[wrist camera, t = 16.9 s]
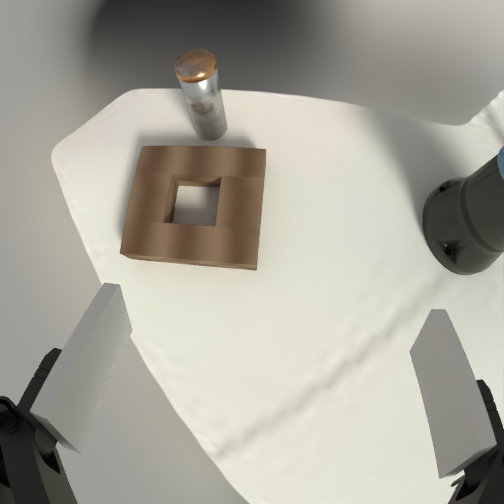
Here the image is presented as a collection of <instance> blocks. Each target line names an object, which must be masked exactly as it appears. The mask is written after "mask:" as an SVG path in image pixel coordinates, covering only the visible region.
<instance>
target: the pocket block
mask: <svg viewBox="0 0 504 504" xmlns="http://www.w3.org/2000/svg"><path fill="white" fill-rule="evenodd" d="M265 166H266V149H256V148H238V147H212V146H142V149H141V153H140V157H139V161H138V165H137V169H136V173H135V177H134V182H133V186H132V191H131V195H130V200H129V205H128V210H127V215H126V220H125V225H124V231H123V237H122V242H121V248H120V254H122V255H124V256H126V257H128V258H130V259H137V260H147V261H158V262H168V263H179V264H190V265H201V266H212V267H223V268H235V269H247V270H257V259H258V247H259V236H260V224H261V213H262V201H263V189H264V177H265ZM178 186H202V187H220V193H219V200H218V208H217V216H216V224H215V226H204V225H189V224H174V223H172V221H173V215H174V208H175V203H176V197H177V191H178Z"/></svg>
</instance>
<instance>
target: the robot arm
mask: <svg viewBox="0 0 504 504" xmlns="http://www.w3.org/2000/svg"><path fill="white" fill-rule="evenodd" d="M423 227H424V233H425V237H426V240H427V242H428V245H429V247H430V249H431V251H432V253H433V254H434V256H435V257H436V258H437V260H438V261H439V262H440V263H441V264H442V265H443V266H444V267H445V268H447V269H448V270H450V271H452V272H454V273H456V274H460V275H471V274H475V273H478V272H481V271H483V270H485V269H487V268H488V267H489V266H490V265H491V264H492V263H493V262H494V261H495V260H496V259H497V258H498V257H499V256H500V255H501V254H502V253H503V252H504V146H503V147H502V148H501V149H500V151H499V153H498V154H497V155H496V156H495V157H493V158H492V159H491V160H490V161H488V162H487V163H486V164H485V165H483V166H482V167H481V168H479V169H478V170H477V171H476V172H474V173H473V174H472V175H471V176H469V177H465V178H459V179H453V180H449V181H446V182H444V183H442V184H441V185H440V186H439V187H437V188H436V189H435V190H434V191H433V192H432V193H431V194H430V195H429V197H428V199H427V201H426V203H425V207H424V212H423ZM131 332H132V327H131V324H130V320H129V317H128V313H127V310H126V306H125V302H124V299H123V295H122V291H121V287H120V285H118V284H111V283H104V284H103V286H102V287H101V289H100V290H99V292H98V293H97V295H96V296H95V298H94V300H93V301H92V302H91V304H90V306H89V307H88V309H87V310H86V312H85V313H84V315H83V317H82V318H81V320H80V322H79V323H78V325H77V326H76V328H75V330H74V331H73V333H72V335H71V336H70V338H69V340H68V341H67V343H66V345H65V347H64V348H63V350H61V349H57V348H54V349H52V350H51V351H50V352H49V353H48V354H47V355H46V356H45V357H44V359H43V360H42V362H41V364H40V365H39V369H37V371H36V372H35V374H34V377H33V378H32V380H31V381H30V383H29V385H28V387H27V389H26V390H25V392H24V394H23V396H22V398H21V400H20V402H19V404H18V405H17V406H16V405H15V404H14V403H13V402H12V401H11V400H10V399H9V398H8V397H5V396H0V504H78V503H77V501H76V499H75V496H74V494H73V492H72V489H71V487H70V484H69V481H68V479H67V476H66V473H65V471H64V468H63V465H62V462H61V460H60V457H59V454H58V451H57V449H56V447H55V446H56V443H57V441H58V442H59V443H60V444H61V445H62V446H63V447H65V448H67V449H70V450H72V451H75V452H78V453H81V451H82V448H83V445H84V443H85V440H86V437H87V435H88V432H89V430H90V427H91V425H92V422H93V420H94V417H95V415H96V412H97V410H98V407H99V405H100V402H101V400H102V397H103V395H104V393H105V391H106V388H107V386H108V383H109V381H110V379H111V377H112V374H113V372H114V370H115V367H116V365H117V363H118V361H119V358H120V356H121V354H122V352H123V350H124V347H125V345H126V343H127V341H128V339H129V337H130V334H131ZM410 355H411V358H412V362H413V365H414V369H415V372H416V376H417V379H418V383H419V387H420V390H421V394H422V398H423V402H424V406H425V410H426V414H427V419H428V423H429V427H430V432H431V437H432V441H433V446H434V451H435V456H436V462H437V467H438V473H439V479H442V478H446V477H450V476H454V475H456V474H458V473H459V472H461V471H462V470H464V473H465V475H463V476H462V477H460V478H459V479H457V480H456V481H454V482H453V483H452V485H451V486H452V487H453V486H455V485H456V484H458V483H459V484H458V486H457V487H456V488H455V489H456V490H455V491H454V493H453V495H452V497H451V499H450V501H449V503H448V504H504V429H503V425H502V422H501V419H500V416H499V413H498V411H497V410H496V409H497V408H496V405H495V402H493V400H494V399H493V396H492V394H491V391H490V389H489V387H488V386H487V385H486V383H485V382H484V381H483V380H476V379H475V377H474V374H473V372H472V369H471V366H470V364H469V361H468V359H467V357H466V354H465V352H464V349H463V347H462V345H461V342H460V340H459V338H458V336H457V333H456V331H455V329H454V327H453V325H452V322H451V320H450V318H449V316H448V314H447V312H446V310H441V309H431V311H430V313H429V315H428V317H427V319H426V321H425V323H424V325H423V327H422V329H421V331H420V333H419V335H418V337H417V339H416V341H415V343H414V344H413V346H412V348H411V350H410Z"/></svg>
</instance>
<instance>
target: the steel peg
mask: <svg viewBox="0 0 504 504" xmlns="http://www.w3.org/2000/svg"><path fill="white" fill-rule="evenodd" d="M174 69H175V72H176V75H177V77H178V80H179V83H180V86H181V89H182V92H183V95H184V98H185V100H186V103H187V106H188V109H189V112H190V115H191V118H192V121H193V124H194V127H195V130H196V132H197V135H198V136H199V137H200V138H202V139H204V140H215V139H218V138H220V137H221V136H223V135H224V133H225V132H226V130H227V121H226V116H225V111H224V105H223V100H222V94H221V89H220V83H219V78H218V72H217V65H216V59H215V56H214V55H213V54H212V53H211V52H209V51H206V50H192V51H189V52H186V53H184V54H183V55H181V56H180V57H179V58H178V59H177V60H176V62H175V64H174Z"/></svg>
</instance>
